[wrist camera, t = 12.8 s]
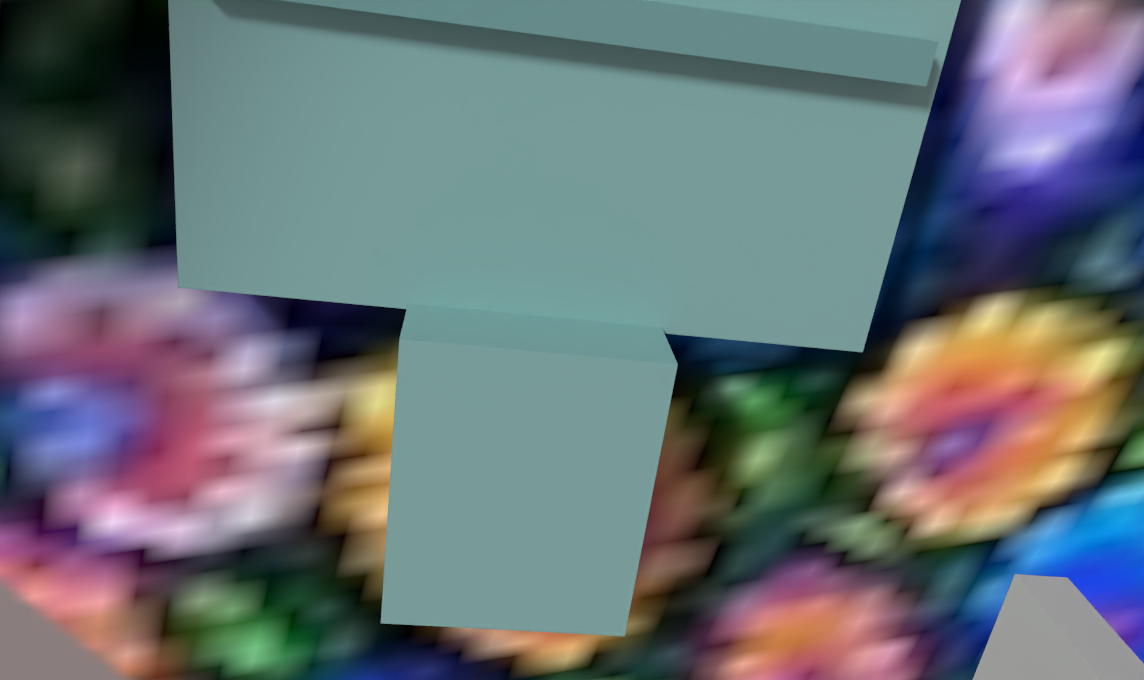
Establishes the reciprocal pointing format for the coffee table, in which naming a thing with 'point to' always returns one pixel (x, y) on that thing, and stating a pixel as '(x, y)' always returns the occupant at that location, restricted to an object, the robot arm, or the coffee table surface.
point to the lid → (547, 237)
